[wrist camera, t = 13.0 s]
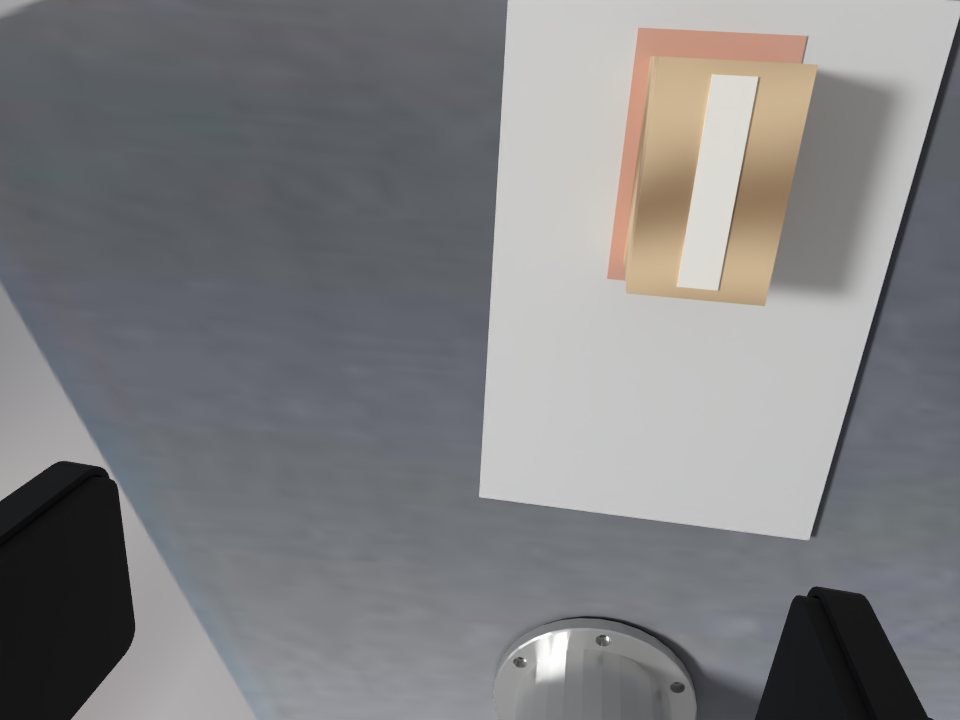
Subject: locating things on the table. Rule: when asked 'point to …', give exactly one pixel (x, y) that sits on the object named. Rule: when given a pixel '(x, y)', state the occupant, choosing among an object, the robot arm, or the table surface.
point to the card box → (714, 176)
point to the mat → (685, 322)
